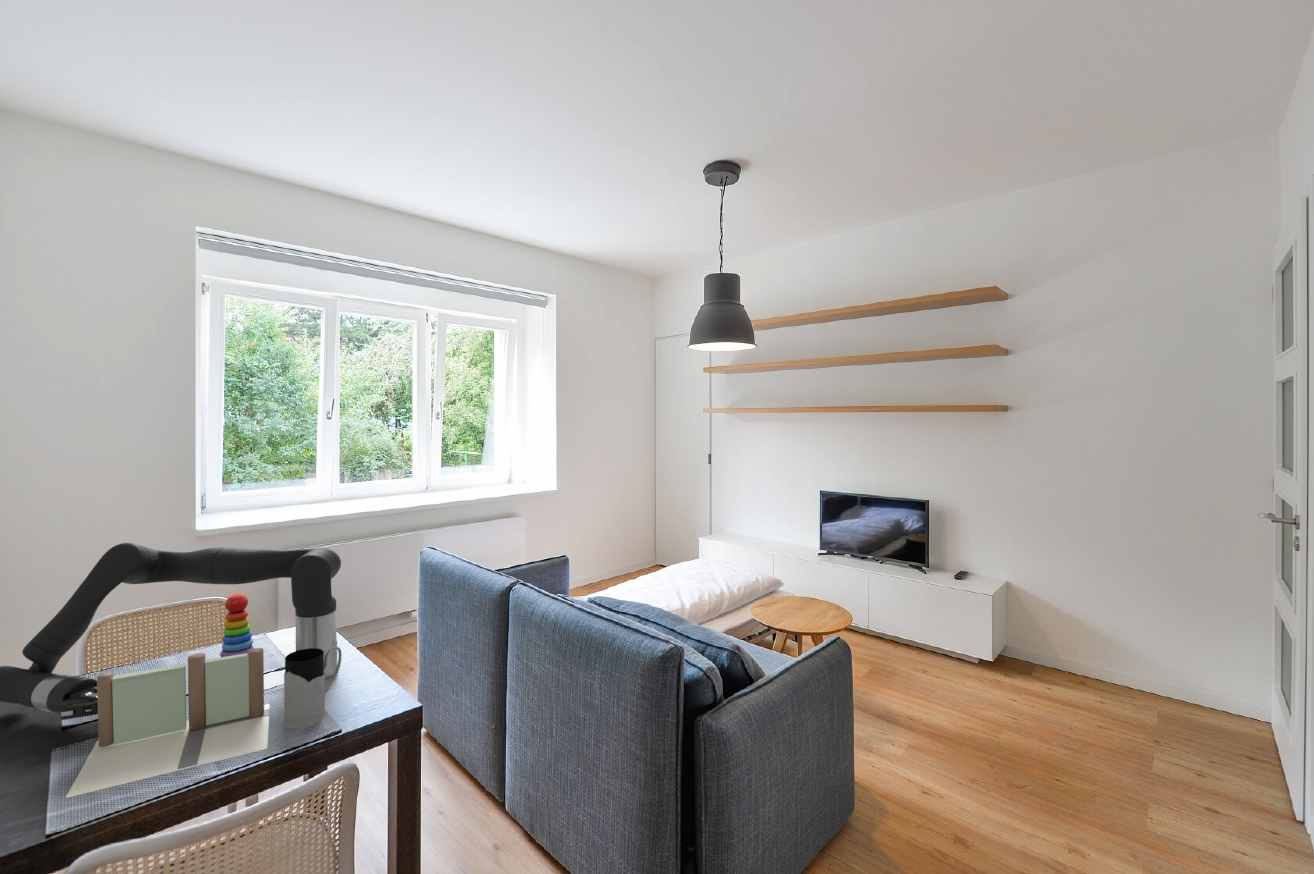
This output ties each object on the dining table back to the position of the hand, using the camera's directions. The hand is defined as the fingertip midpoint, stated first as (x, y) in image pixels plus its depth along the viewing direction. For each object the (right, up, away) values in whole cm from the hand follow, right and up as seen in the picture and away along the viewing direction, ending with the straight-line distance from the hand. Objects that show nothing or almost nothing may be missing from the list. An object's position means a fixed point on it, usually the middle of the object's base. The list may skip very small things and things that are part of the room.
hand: (128, 704), depth 123 cm
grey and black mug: (+33, -7, +11) cm, 36 cm away
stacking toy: (-3, -5, +37) cm, 37 cm away
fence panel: (+4, -6, -1) cm, 8 cm away
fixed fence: (+16, -7, +7) cm, 19 cm away
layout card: (+13, -7, -2) cm, 15 cm away
